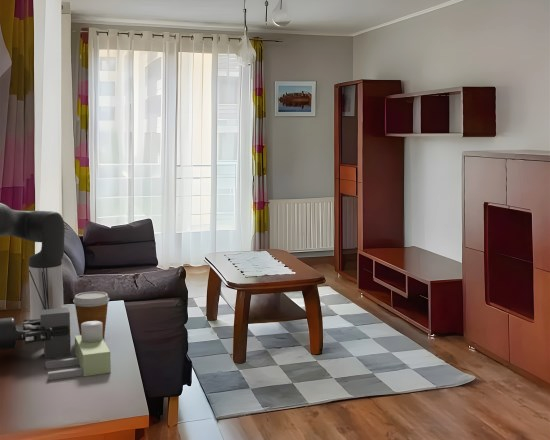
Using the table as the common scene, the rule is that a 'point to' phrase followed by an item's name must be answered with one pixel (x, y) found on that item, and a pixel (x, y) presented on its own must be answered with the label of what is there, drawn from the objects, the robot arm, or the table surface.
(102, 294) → the disposable coffee cup
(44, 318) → the grey lidded box
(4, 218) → the robot arm
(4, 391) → the table surface
